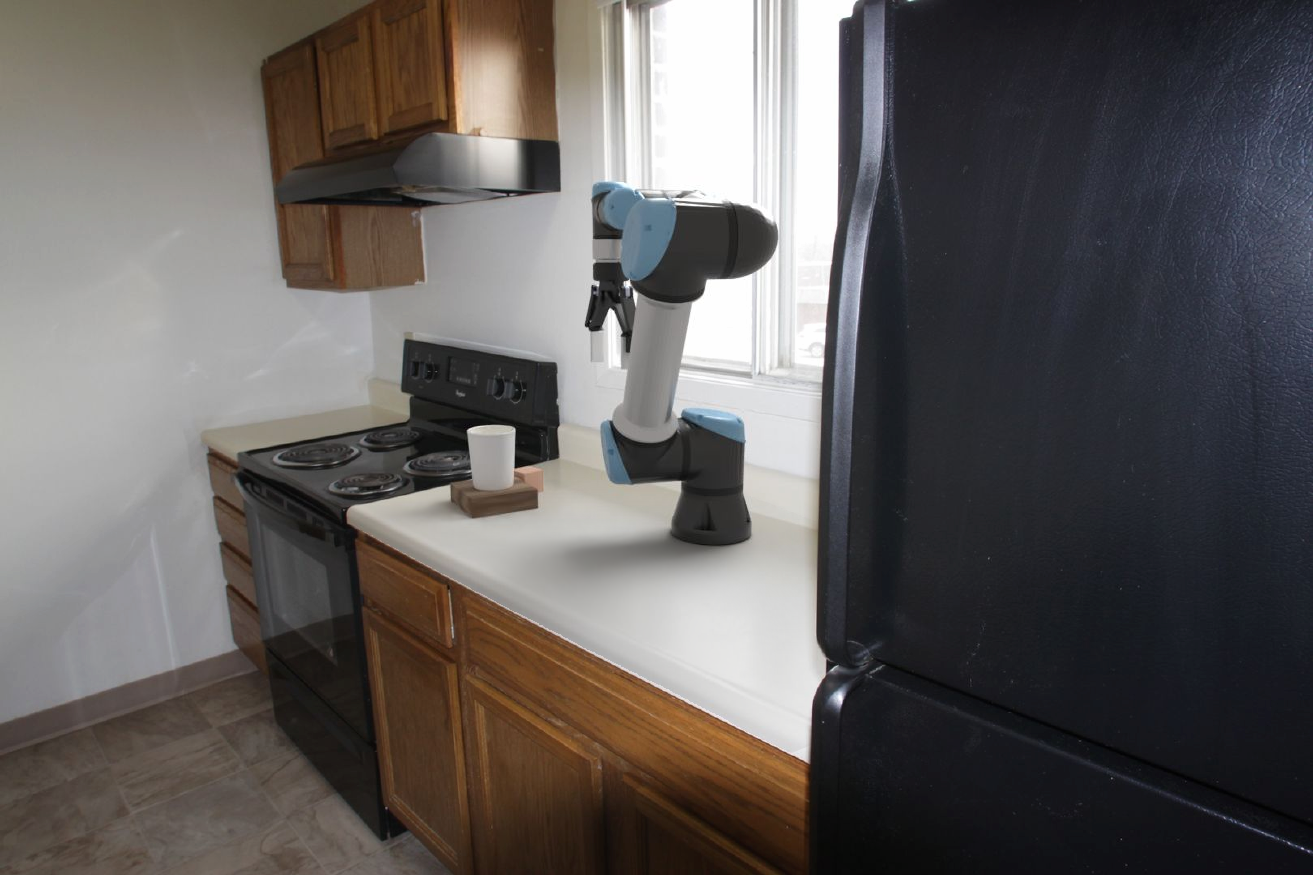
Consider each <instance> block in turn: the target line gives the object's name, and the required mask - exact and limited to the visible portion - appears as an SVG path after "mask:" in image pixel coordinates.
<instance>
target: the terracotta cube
mask: <svg viewBox="0 0 1313 875" xmlns="http://www.w3.org/2000/svg"><path fill="white" fill-rule="evenodd" d="M514 476H516V477H518V478H519V479H521V480H523V481H524V482H526V483H528V484H530V485H531V486H533V487H535V488H536V489H538V494H539V493H543V492H544V469H541V468H538V467H534V466H531V465H528V466H523V467H517V468H514Z"/></svg>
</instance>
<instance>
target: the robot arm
mask: <svg viewBox="0 0 1313 875" xmlns="http://www.w3.org/2000/svg"><path fill="white" fill-rule="evenodd" d="M591 189H592V190H591V191H592V192H591V193H592V194H591V199H590V200H591V206H592V207H591V208H592V209H591V211H592V212H591V213H592V214H591V215H592V218H591V219H592V240H591V242H592V243H591V244H592V260H595V262H593V264H592V279H593V281H595V282H599V283H598V284H591V286H590V288H591V289H590V296H589V297H590V298H589V300H588V301H589V302H588V306H587V307H588V308H587V311H586V316H585V320H584V328H588V332H589V333H590V334H589V336H590V338H589V339H590V363H602V362H604V327H603V326H604V323H605V320H606V317H607V315H608V312H609V311H610V309H611V311H613V312H614V314H615V317H616V319H617V322H618V325H619V327H620V330H621V332H622V333H621V335H620V369H621V370H626V371H627V372H626V377H625V386H624V394H623V401H622V402H621V403H619V404H618V405H617V406H616V407H615V408H614V411H613V413H612V416H611V417H612V418H611V419H607V420H603V421H602V422H601V423H600V426H599V427H600V430H599V431H600V442H601V451H602V457H603V462H604V466H605V471H606V475H607V478H608V479H609V481H610V482H611V483H612V484H615V485H622V486H623V485H629V486H634V485H643V484H645V485H646V484H656V483H657V484H658V483H672V482H673V483H674V482H680V493H679V497H678V499H677V500H678V501H677V503H676V505H675V506H676V507H675V509H674V513H673V516H672V517H671V523H670V524H671V525H670V526H671V529H670V530H671V534H672V535H673V536H674V537H676V538H678V539H679V540H682V541H685V542H688V543H692V544H699V545H718V546H719V545H730V544H735V543H739V542H743V541H745V540H747V539H748V538H750V537H751V536H752V529H753V528H752V524H753V523H752V519H751V516H750V513H749V512H750V511H749V509H748V505H747V502H746V498H745V495H744V480H745V479H744V478H745V476H744V475H745V452H746V450H745V449H746V448H745V447H746V446H745V444H746V442H747V441H746V437H745V436H746V435H745V422H744V421H743V419H742V418H741V417H740V416H738V415H736V414H734V413H732V412H731V413H730V412H727V411H723V410H718V409H711V408H704V407H703V408H701V407H686V408H683V409H682V411H681V413H680V417H678V416H677V415H676V414H677V413H675V411H673V409H674V408H673V407H674V402H675V397H676V392H677V386H678V381H679V375H680V371H681V370H680V369H681V364H682V359H683V354H684V349H685V343H686V338H687V333H688V327H689V322H690V317H691V311H692V306H693V304H694V303H695V302H697V301H698V300H700V299H701V298H702V297H703V296H704V293H705V290H706V286H707V282H708V281H709V280H735V279H740V278H743V277H747V276H750V275H752V274H754V273H755V272H757V271H759V270H761V269H762V268H763V267H765V265H767V264H768V262H770V260H771V259H772V258H773V256H774V254H775V252H776V250H777V247H778V242H779V230H778V225H777V222H776V220H775V218H774V216H773V214H771V212H769V210H767V209H766V208H765V207H763V206H762V205H760V204H757V203H754V202H750V201H746V200H743V199H733V198H732V199H731V198H730V199H729V198H725V199H719V198H716V194H714V192H712V191H704V190H699V189H695V190H675V189H674V190H671V189H669V190H666V189H647V188H646V189H643V188H634V187H630V186H629V185H628V184H627V183H625V182H622V181H598V182H595V183H594V184H593V185H592V188H591ZM625 282H629V284H630V286H629V285H626V286H625ZM634 292H635V293H636V294H637V298H636V303H635V298H634Z"/></svg>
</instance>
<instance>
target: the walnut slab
mask: <svg viewBox="0 0 1313 875" xmlns="http://www.w3.org/2000/svg"><path fill="white" fill-rule="evenodd" d="M449 490H450V493H449V494H450V501H451V503H453V504H454V505H455V506H457V507H458V508H459V509H460V510H461V511H463V512H464V513H465V514H467V515H468V516H469V517H470V518H471V519H475V518H477V519H478V518H481V517H482V518H483V517H489V516H490V517H491V516H496V515H502V514H508V513H514V512H520V511H527V510H528V511H529V510H532V509H534V510H535V509H538V508H539V493H538V489H536V488H535V487H533V486H531V485H530V484H528V483H526V482H524V481H523V480H521V479H519V478H518V477H516V476H514V484H513V486H512V487H510V488H508V489H504V490H498V491H483V490H478V489H475V488H474V486H473V480H472V479H469V480H468V479H467V480H462V481H461V480H459V481H454V482H449Z"/></svg>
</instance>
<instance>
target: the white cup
mask: <svg viewBox="0 0 1313 875" xmlns="http://www.w3.org/2000/svg"><path fill="white" fill-rule="evenodd" d="M516 430H517V429H516V428H515V427H514V426H511V425H503V424H489V425H488V424H486V425H479V426H473V427H470V428H468V429H467V430H466V434H467V443H468V451H469V458H470V460H469V461H470V470H471V478H472V479H471V480H473V486H474V488H475V489H478V490H483V491H498V490H504V489H508V488H510V487H512V486H513V484H514V469H515V457H516V456H515V454H516V451H515V449H516V446H515V445H516Z"/></svg>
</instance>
